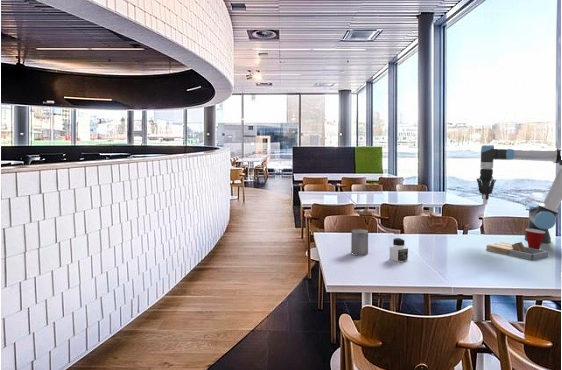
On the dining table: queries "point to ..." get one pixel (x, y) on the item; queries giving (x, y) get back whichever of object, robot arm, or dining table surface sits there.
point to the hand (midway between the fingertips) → (485, 204)
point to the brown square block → (519, 247)
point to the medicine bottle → (398, 250)
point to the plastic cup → (534, 238)
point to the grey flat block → (534, 254)
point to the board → (500, 248)
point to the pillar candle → (359, 242)
